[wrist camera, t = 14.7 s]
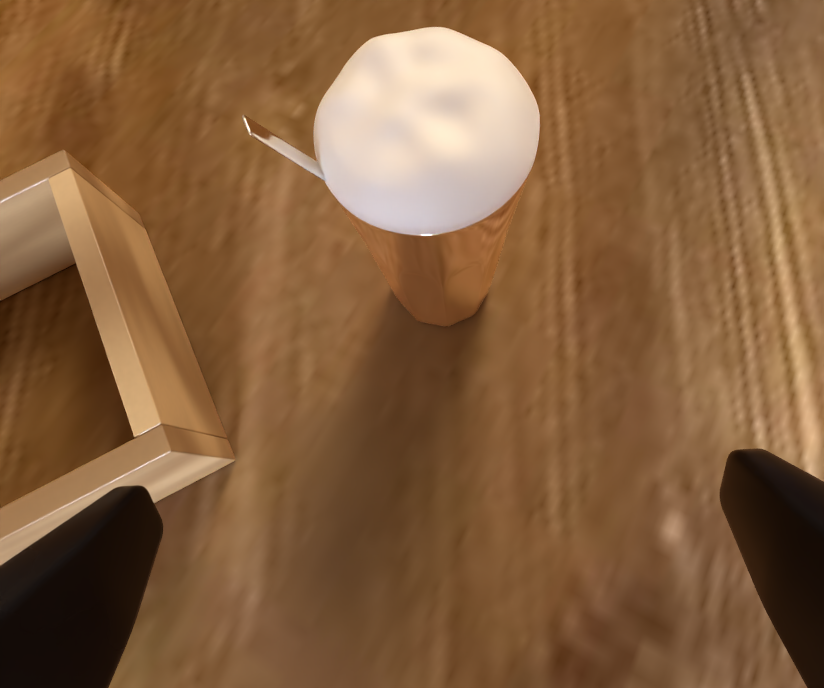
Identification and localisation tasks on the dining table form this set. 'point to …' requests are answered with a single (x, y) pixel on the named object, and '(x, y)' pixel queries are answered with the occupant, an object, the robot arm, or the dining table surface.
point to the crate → (108, 342)
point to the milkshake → (426, 162)
